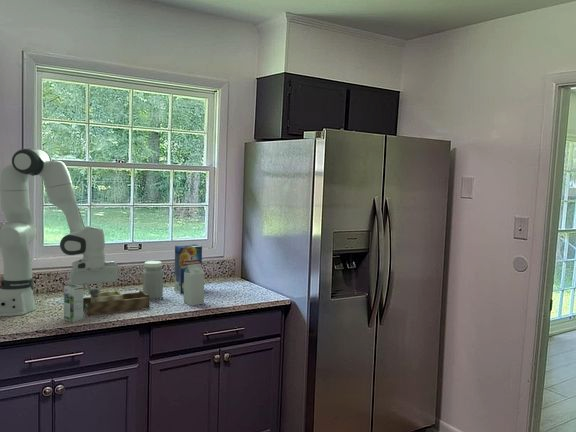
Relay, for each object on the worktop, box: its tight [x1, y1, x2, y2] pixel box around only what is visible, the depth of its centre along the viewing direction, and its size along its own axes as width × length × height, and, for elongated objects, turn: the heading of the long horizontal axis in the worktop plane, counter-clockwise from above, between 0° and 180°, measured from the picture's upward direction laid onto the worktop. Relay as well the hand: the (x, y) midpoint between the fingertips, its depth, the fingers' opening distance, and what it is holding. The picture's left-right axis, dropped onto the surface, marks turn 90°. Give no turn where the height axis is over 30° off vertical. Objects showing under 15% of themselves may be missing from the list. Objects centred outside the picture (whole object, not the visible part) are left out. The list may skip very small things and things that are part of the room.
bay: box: [83, 289, 150, 317], centre depth 238 cm, size 27×12×6 cm, turn 124°
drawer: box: [89, 286, 124, 303], centre depth 235 cm, size 13×9×9 cm
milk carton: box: [183, 264, 205, 306], centre depth 251 cm, size 7×7×19 cm
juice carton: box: [174, 244, 203, 295], centre depth 274 cm, size 12×8×24 cm, turn 128°
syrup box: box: [63, 283, 84, 323], centre depth 219 cm, size 6×6×14 cm
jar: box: [142, 260, 164, 301], centre depth 258 cm, size 10×10×18 cm
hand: (93, 293), depth 232 cm, fingers closed on drawer, 2 cm apart
